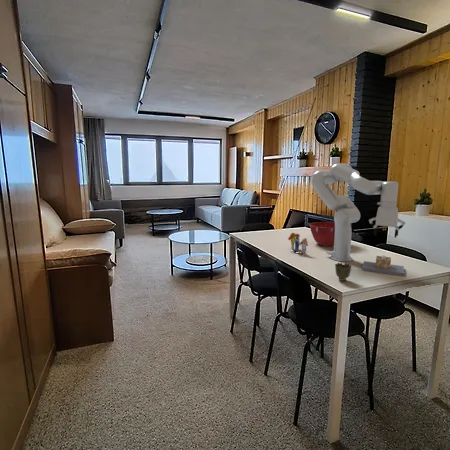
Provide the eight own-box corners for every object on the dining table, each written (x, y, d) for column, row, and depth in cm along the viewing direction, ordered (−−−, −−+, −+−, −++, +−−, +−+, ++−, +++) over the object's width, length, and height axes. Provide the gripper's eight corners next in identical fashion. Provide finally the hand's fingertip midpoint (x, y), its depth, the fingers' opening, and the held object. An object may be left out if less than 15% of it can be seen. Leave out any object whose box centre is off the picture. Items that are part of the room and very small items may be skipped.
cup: (333, 281, 142) (334, 266, 141) (334, 277, 149) (335, 262, 147) (350, 283, 139) (351, 267, 138) (350, 279, 146) (351, 263, 144)
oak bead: (375, 267, 159) (376, 258, 158) (376, 264, 165) (376, 255, 164) (389, 269, 155) (390, 260, 155) (390, 266, 161) (390, 257, 161)
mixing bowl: (300, 244, 221) (301, 224, 219) (321, 238, 240) (321, 220, 237) (335, 251, 200) (337, 229, 198) (354, 244, 219) (356, 224, 216)
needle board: (361, 270, 159) (362, 256, 158) (363, 263, 171) (364, 250, 170) (404, 276, 149) (405, 261, 148) (403, 268, 161) (404, 254, 160)
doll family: (308, 255, 189) (309, 235, 187) (294, 256, 188) (295, 236, 186) (296, 247, 210) (297, 230, 208) (284, 248, 209) (284, 230, 207)
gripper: (369, 204, 155) (367, 235, 158) (407, 206, 147) (403, 239, 150) (370, 203, 162) (368, 233, 165) (406, 205, 153) (403, 236, 156)
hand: (385, 236), depth 157 cm, fingers open, 9 cm apart
